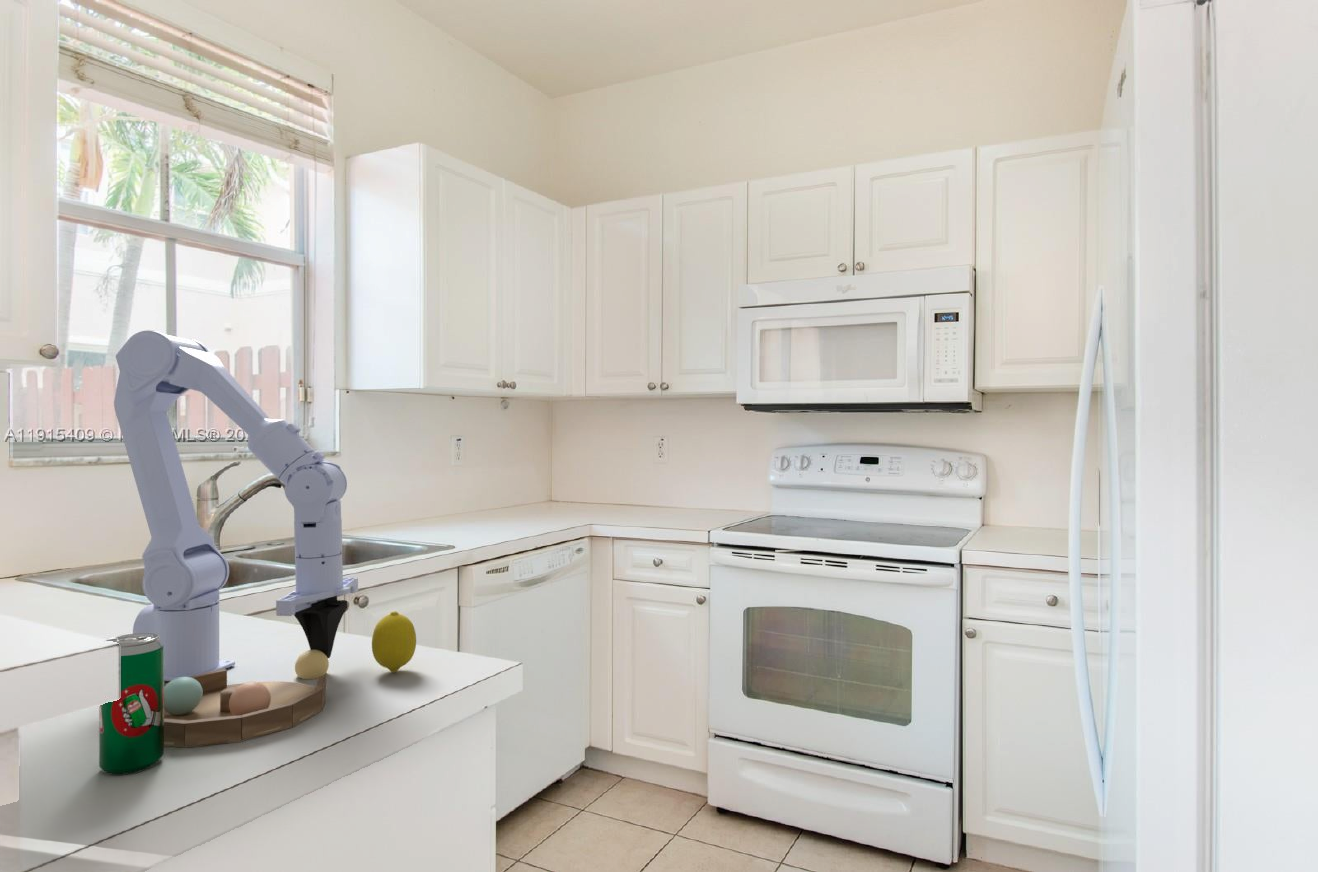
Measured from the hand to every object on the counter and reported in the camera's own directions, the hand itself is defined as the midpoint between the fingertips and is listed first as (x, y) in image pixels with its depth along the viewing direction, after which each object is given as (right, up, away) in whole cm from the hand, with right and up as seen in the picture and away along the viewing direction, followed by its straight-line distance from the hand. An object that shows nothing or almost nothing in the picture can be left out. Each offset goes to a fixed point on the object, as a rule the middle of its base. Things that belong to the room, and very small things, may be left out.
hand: (321, 658), depth 102 cm
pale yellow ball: (0, -2, 0) cm, 2 cm away
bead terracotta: (0, -1, -18) cm, 18 cm away
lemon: (+10, -2, 0) cm, 10 cm away
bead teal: (-8, -1, -16) cm, 18 cm away
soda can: (-5, -2, -29) cm, 29 cm away
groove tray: (-4, -2, -15) cm, 15 cm away
